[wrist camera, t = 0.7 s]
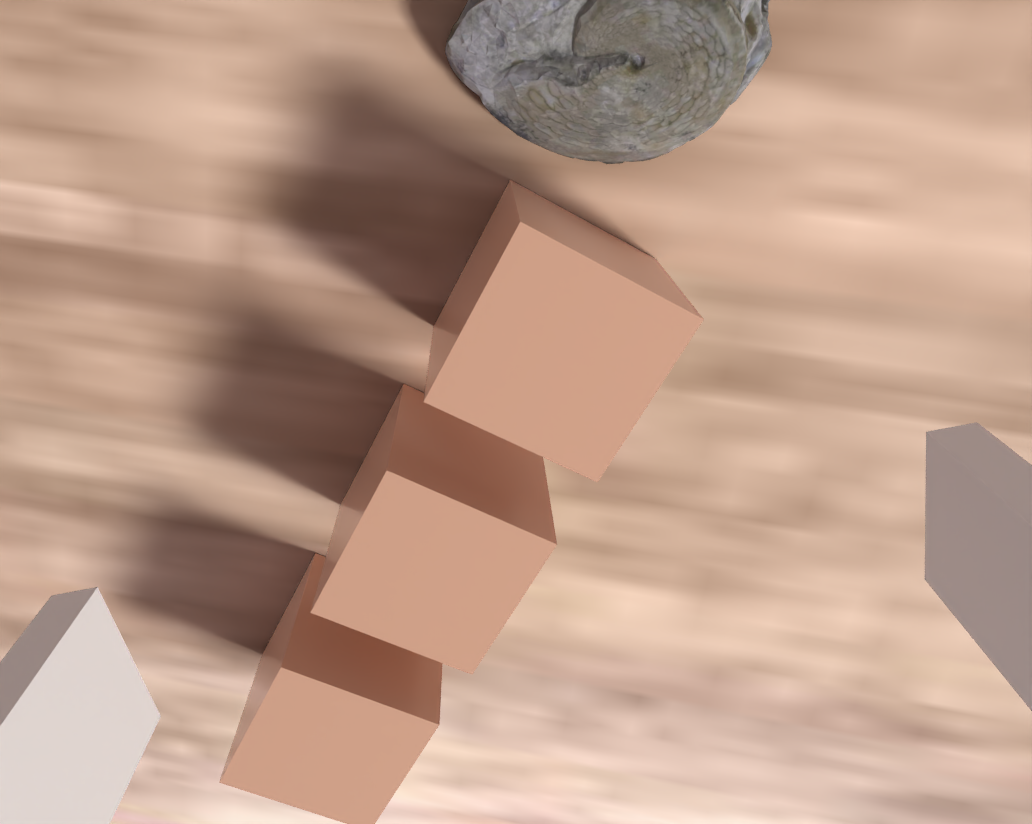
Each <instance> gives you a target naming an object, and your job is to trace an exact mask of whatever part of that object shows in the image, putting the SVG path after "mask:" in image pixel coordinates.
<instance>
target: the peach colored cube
mask: <svg viewBox="0 0 1032 824" xmlns="http://www.w3.org/2000/svg"><path fill="white" fill-rule="evenodd" d="M703 320H704V319H703V318H702V316H701V315H700V314H699V313H698V311H697V310H696V309H695V308H694V306H693V305H692V304H691V303H690V301H689V300H688V299H687V297H686V296H685V295H684V294H683V292H682V291H681V290H680V289H679V287H678V286H677V285H676V284H675V282H674V281H673V280H672V278H671V277H670V276H669V275H668V273H667V272H666V271H665V270H664V268H663V267H662V266H661V265H660V263H659V262H658V261H657V259H655V258H653V257H651V256H649V255H648V254H646V253H644V252H642V251H640V250H638V249H637V248H635V247H633V246H631V245H629V244H627V243H626V242H624V241H622V240H620V239H618V238H616V237H615V236H613V235H611V234H609V233H607V232H605V231H604V230H602V229H600V228H598V227H596V226H594V225H593V224H591V223H589V222H587V221H585V220H583V219H582V218H580V217H578V216H576V215H574V214H572V213H571V212H569V211H567V210H565V209H563V208H561V207H560V206H558V205H556V204H554V203H552V202H550V201H549V200H547V199H545V198H543V197H541V196H539V195H538V194H536V193H534V192H532V191H530V190H528V189H527V188H525V187H523V186H521V185H519V184H517V183H516V182H514V181H512V180H510V181H509V183H508V185H507V187H506V189H505V191H504V193H503V194H502V196H501V198H500V200H499V202H498V204H497V206H496V208H495V210H494V212H493V214H492V216H491V217H490V219H489V221H488V223H487V225H486V227H485V229H484V231H483V233H482V235H481V237H480V239H479V240H478V242H477V244H476V246H475V248H474V250H473V252H472V254H471V256H470V258H469V260H468V262H467V263H466V265H465V267H464V269H463V271H462V273H461V275H460V277H459V279H458V281H457V283H456V284H455V286H454V288H453V290H452V292H451V294H450V296H449V298H448V300H447V302H446V304H445V306H444V307H443V309H442V311H441V313H440V315H439V317H438V319H437V321H436V323H435V325H434V327H433V334H432V342H431V349H430V357H429V364H428V372H427V379H426V387H425V394H424V402H425V403H427V404H429V405H431V406H433V407H435V408H438V409H440V410H442V411H444V412H446V413H448V414H451V415H453V416H455V417H457V418H459V419H461V420H464V421H466V422H468V423H470V424H472V425H474V426H477V427H479V428H481V429H483V430H485V431H487V432H490V433H492V434H494V435H496V436H498V437H500V438H503V439H505V440H507V441H509V442H511V443H513V444H516V445H518V446H520V447H522V448H524V449H526V450H529V451H531V452H533V453H535V454H537V455H539V456H542V457H544V458H546V459H548V460H550V461H552V462H555V463H557V464H559V465H561V466H563V467H565V468H568V469H570V470H572V471H574V472H576V473H578V474H581V475H583V476H585V477H587V478H589V479H591V480H594V481H596V482H598V481H599V479H600V478H601V476H602V475H603V473H604V472H605V470H606V469H607V467H608V466H609V464H610V462H611V461H612V459H613V458H614V456H615V455H616V453H617V452H618V450H619V449H620V447H621V446H622V444H623V443H624V441H625V439H626V438H627V436H628V435H629V433H630V432H631V430H632V429H633V427H634V426H635V424H636V423H637V421H638V420H639V418H640V416H641V415H642V413H643V412H644V410H645V409H646V407H647V406H648V404H649V403H650V401H651V400H652V398H653V397H654V395H655V393H656V392H657V390H658V389H659V387H660V386H661V384H662V383H663V381H664V380H665V378H666V377H667V375H668V374H669V372H670V371H671V369H672V367H673V366H674V364H675V363H676V361H677V360H678V358H679V357H680V355H681V354H682V352H683V351H684V349H685V348H686V346H687V344H688V343H689V341H690V340H691V338H692V337H693V335H694V334H695V332H696V331H697V329H698V328H699V326H700V325H701V323H702V321H703Z"/></svg>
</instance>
